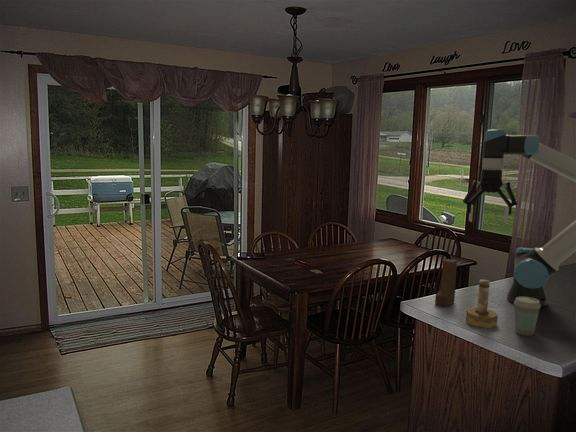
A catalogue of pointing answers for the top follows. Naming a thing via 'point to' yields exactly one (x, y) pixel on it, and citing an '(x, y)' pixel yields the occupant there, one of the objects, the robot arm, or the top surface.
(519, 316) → the coffee cup
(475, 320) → the tan faceted ring
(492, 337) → the top surface
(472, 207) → the robot arm
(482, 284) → the wooden dowel
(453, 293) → the wooden block
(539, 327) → the top surface
